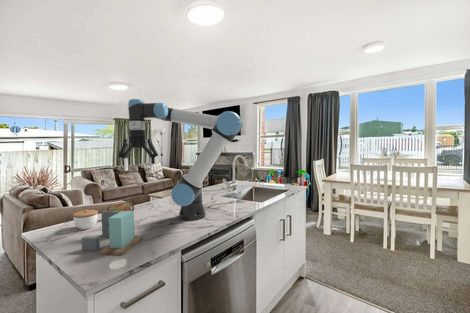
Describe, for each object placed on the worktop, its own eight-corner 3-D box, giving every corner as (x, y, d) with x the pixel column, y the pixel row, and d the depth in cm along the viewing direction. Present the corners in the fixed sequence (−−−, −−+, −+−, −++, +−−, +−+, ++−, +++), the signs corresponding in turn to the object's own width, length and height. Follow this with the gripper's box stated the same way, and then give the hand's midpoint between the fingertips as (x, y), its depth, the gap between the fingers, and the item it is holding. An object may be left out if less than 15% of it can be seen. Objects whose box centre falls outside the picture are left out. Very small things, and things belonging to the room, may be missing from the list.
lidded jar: (87, 223, 128) (86, 206, 128) (103, 225, 125) (102, 207, 125) (68, 230, 118) (67, 211, 118) (85, 232, 115) (84, 213, 115)
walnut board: (142, 238, 106) (142, 235, 106) (122, 254, 90) (122, 251, 90) (122, 238, 107) (122, 235, 107) (100, 254, 91) (100, 251, 91)
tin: (108, 220, 132) (107, 205, 132) (106, 219, 134) (105, 204, 134) (134, 214, 144) (134, 200, 143) (132, 213, 146) (131, 200, 145)
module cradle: (124, 234, 111) (123, 211, 111) (101, 250, 94) (100, 223, 94) (104, 234, 112) (103, 211, 111) (77, 250, 95) (75, 223, 94)
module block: (134, 238, 103) (133, 210, 103) (122, 248, 93) (120, 218, 93) (123, 238, 104) (122, 210, 103) (109, 248, 94) (108, 218, 93)
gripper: (109, 129, 121) (111, 171, 122) (158, 128, 120) (159, 170, 121) (117, 130, 128) (119, 170, 129) (163, 129, 127) (164, 169, 128)
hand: (138, 170), depth 125 cm, fingers open, 13 cm apart
